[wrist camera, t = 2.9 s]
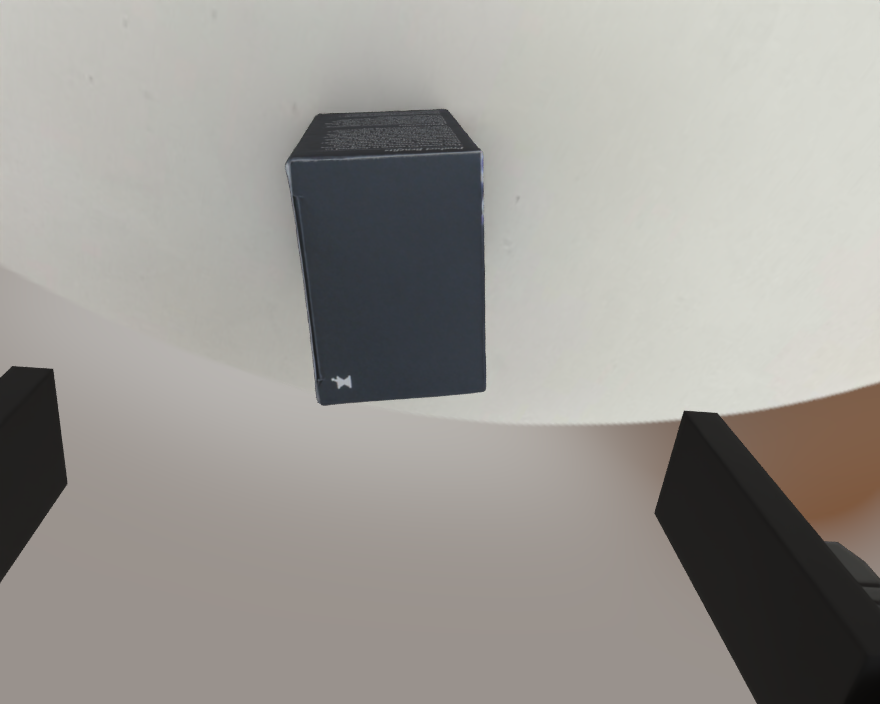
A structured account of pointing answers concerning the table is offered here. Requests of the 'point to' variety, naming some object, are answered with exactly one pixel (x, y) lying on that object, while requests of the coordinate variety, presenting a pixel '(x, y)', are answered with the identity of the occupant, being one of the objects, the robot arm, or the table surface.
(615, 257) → the table surface
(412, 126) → the box
